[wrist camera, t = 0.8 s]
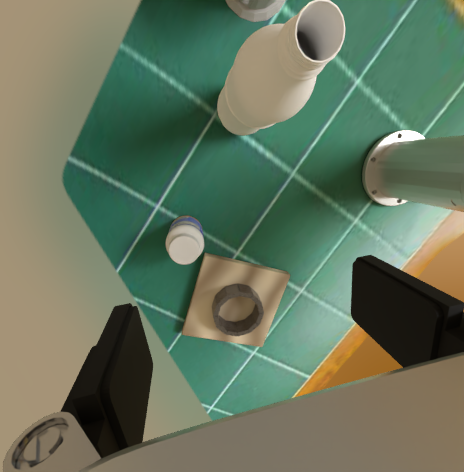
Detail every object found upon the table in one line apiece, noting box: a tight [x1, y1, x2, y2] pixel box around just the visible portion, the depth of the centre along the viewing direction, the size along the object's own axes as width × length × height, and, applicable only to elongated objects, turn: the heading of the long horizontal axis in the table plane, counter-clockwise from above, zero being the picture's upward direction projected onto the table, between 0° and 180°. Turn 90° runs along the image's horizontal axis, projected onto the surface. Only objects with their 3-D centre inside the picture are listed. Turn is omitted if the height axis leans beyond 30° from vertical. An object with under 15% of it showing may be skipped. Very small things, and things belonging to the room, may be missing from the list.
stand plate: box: [182, 253, 290, 347], centre depth 46 cm, size 16×16×2 cm
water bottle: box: [217, 0, 345, 135], centre depth 25 cm, size 7×7×25 cm
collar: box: [212, 283, 264, 336], centre depth 44 cm, size 9×9×3 cm
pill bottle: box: [166, 216, 204, 265], centre depth 37 cm, size 5×5×10 cm
